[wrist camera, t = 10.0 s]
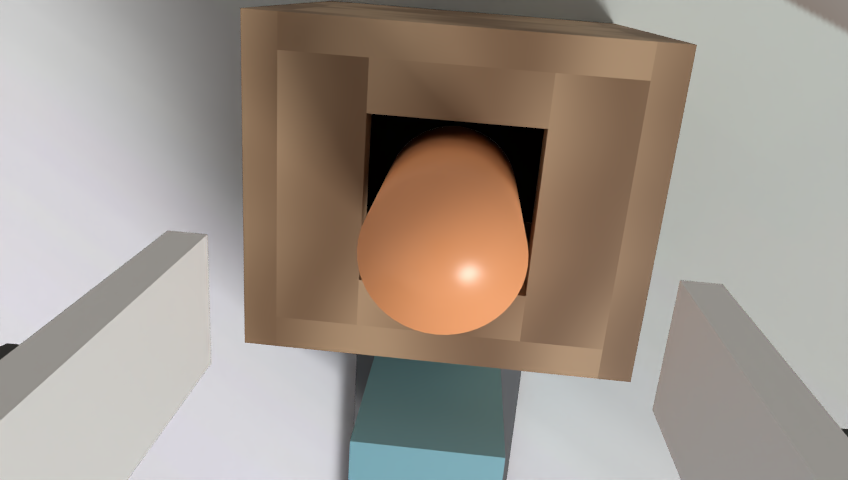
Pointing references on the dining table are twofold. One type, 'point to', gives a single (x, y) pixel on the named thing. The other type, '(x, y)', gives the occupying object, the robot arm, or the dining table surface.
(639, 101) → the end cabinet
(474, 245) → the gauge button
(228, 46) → the dining table surface
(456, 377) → the block
